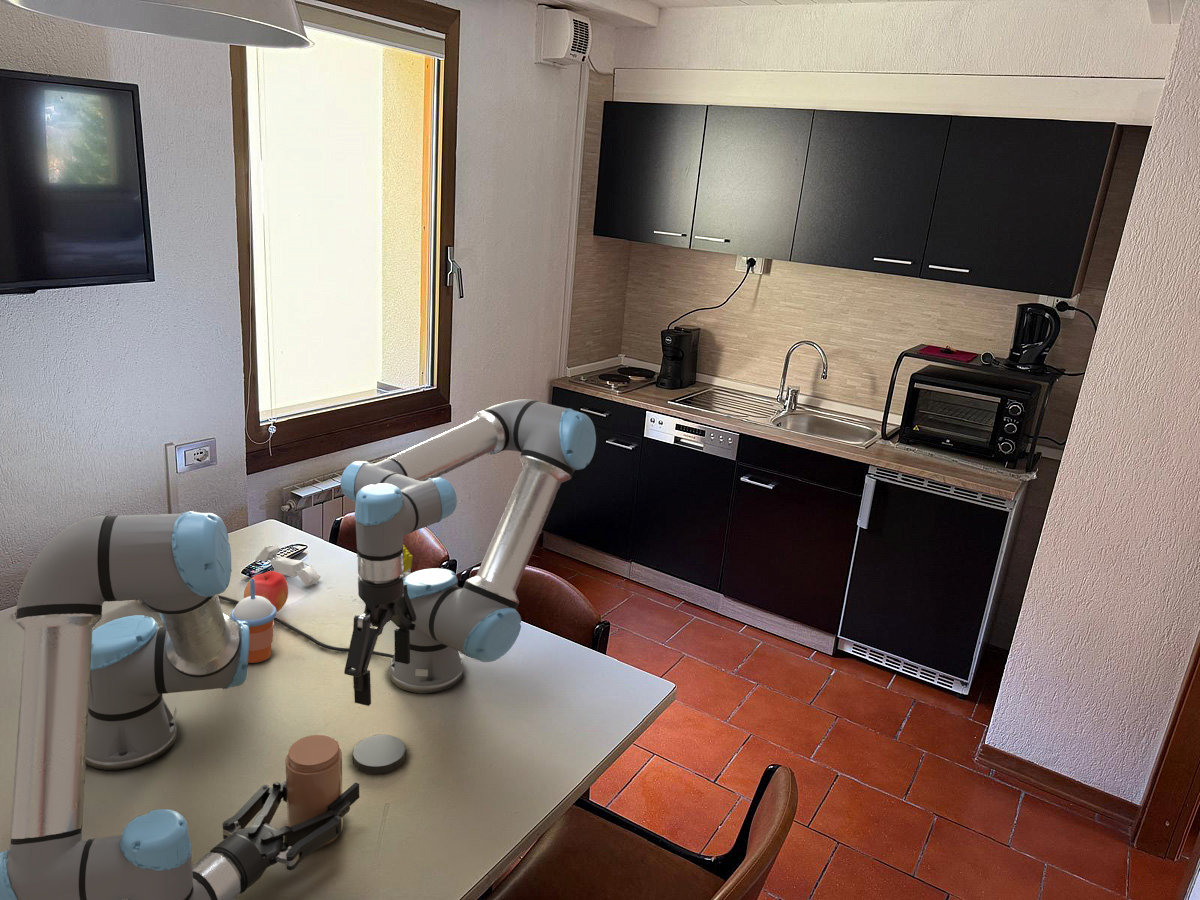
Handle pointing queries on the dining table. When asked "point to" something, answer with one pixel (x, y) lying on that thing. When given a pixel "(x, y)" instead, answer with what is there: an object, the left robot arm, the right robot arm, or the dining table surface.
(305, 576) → the white long knobbly piece
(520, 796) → the dining table surface
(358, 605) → the dining table surface
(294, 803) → the jar
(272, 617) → the cup with straw
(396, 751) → the lid
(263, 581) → the apple
